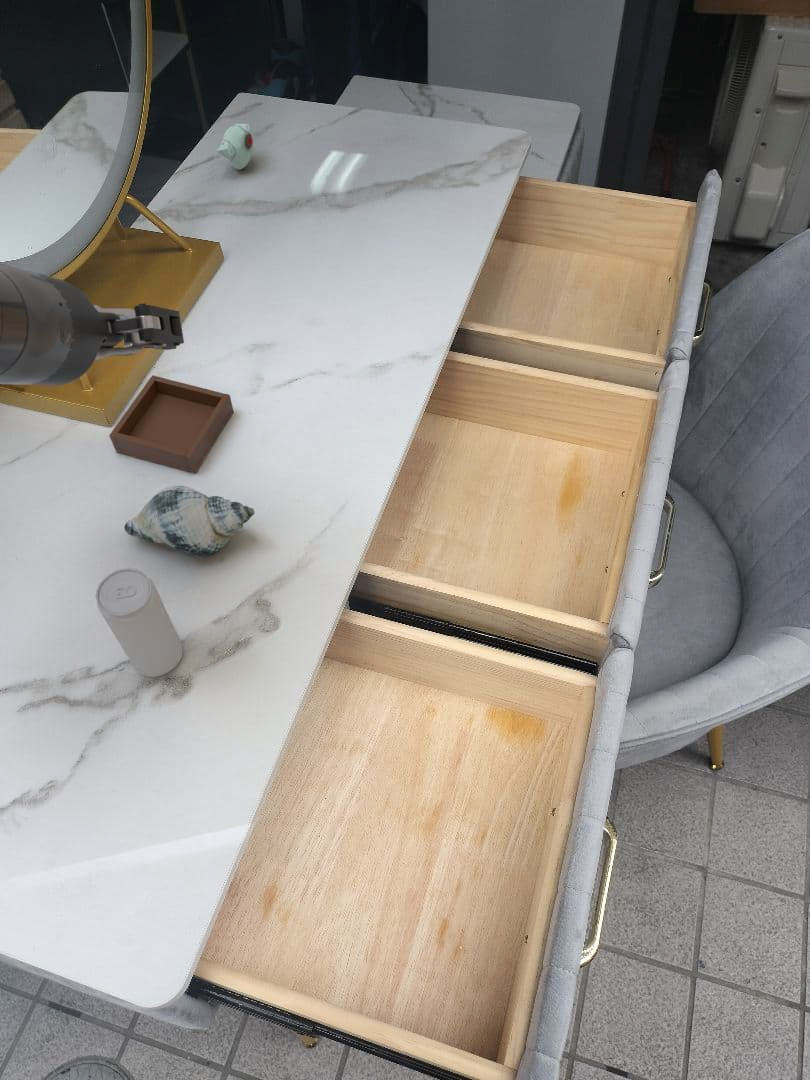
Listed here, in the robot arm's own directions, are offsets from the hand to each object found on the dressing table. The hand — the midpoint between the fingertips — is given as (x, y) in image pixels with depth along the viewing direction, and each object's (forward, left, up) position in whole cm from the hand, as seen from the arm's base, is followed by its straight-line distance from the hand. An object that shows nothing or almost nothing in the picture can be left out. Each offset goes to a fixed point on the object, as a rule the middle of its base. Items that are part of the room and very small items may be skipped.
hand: (123, 343), depth 70 cm
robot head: (-20, +60, -22) cm, 67 cm away
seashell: (+4, -4, -22) cm, 23 cm away
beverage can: (+7, -18, -22) cm, 29 cm away
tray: (-5, +9, -22) cm, 24 cm away
